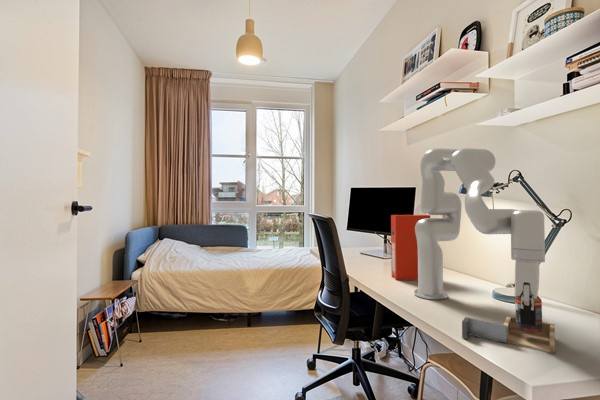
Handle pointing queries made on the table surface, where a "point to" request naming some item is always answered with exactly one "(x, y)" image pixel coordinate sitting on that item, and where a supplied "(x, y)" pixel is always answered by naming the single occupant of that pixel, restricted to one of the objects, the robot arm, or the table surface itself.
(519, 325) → the supplement bottle
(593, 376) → the table surface
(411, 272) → the file binder
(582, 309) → the table surface
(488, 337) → the grey l-shaped block
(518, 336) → the caddy
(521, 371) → the table surface
